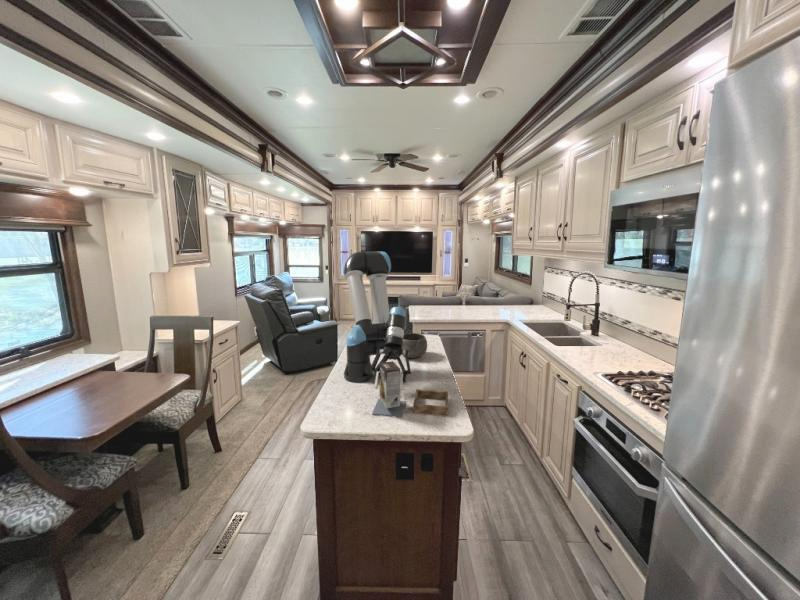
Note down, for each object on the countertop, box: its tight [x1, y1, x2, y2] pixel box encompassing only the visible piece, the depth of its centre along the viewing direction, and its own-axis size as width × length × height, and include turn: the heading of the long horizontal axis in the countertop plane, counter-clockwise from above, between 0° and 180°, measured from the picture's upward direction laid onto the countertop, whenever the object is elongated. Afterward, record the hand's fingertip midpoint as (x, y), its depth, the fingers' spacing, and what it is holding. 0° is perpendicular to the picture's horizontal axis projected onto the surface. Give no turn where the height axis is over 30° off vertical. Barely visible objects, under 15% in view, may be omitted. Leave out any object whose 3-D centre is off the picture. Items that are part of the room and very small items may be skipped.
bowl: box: [401, 332, 428, 359], centre depth 192 cm, size 18×18×13 cm
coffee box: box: [378, 360, 401, 408], centre depth 132 cm, size 9×6×16 cm
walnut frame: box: [412, 388, 449, 417], centre depth 137 cm, size 14×14×4 cm
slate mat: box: [371, 398, 406, 418], centre depth 135 cm, size 12×12×1 cm
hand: (388, 388), depth 130 cm, fingers closed on coffee box, 9 cm apart
